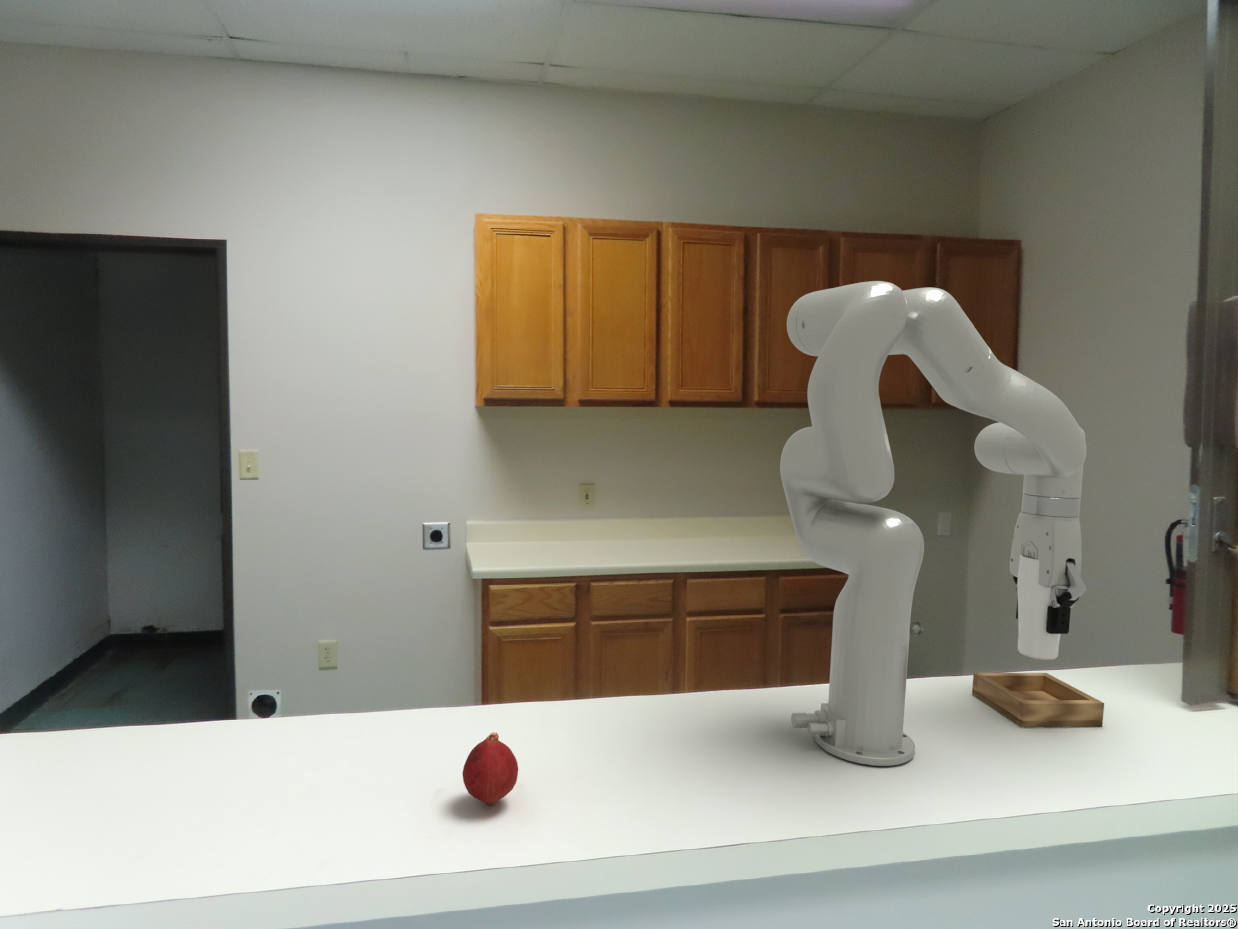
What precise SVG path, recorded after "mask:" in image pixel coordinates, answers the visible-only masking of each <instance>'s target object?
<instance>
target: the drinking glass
mask: <svg viewBox="0 0 1238 929" xmlns="http://www.w3.org/2000/svg"><path fill="white" fill-rule="evenodd" d="M1038 578H1039V560H1037V559H1031V558H1027V557H1024V556H1022V554H1021V555H1020V559H1019V567H1018V583H1017V587H1018V593H1017V595H1018V619H1017V626H1018V627H1017V630H1018V631H1017V632H1018V633H1017V634H1018V635H1017V650H1018V652H1019V654H1021V655H1022V656H1025V657H1026V658H1027V657H1028V658H1031V659H1034V660H1041V661H1046V660H1047V661H1050V660H1051V661H1053V660H1055V659H1057V657H1059V648H1060V640H1061V635H1062V634H1049V633H1047V632H1046V624H1047V611H1048V606H1052V604H1051V599H1050V594H1051V587H1043V586H1041V585H1039V584H1038ZM1058 585H1066V579H1065V574H1064V575H1063V577H1062V579H1061V581H1060V583H1059V584H1058ZM1064 592H1065V590H1058V595H1059V596H1061V595H1062V594H1063V593H1064Z"/></svg>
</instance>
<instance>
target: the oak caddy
mask: <svg viewBox="0 0 1238 929" xmlns="http://www.w3.org/2000/svg"><path fill="white" fill-rule="evenodd" d="M971 688H972V690H971V695H972V696H974V697H975V698H977V699H978V700H979V701H981V702H983V703H984V704H986V705H987V706H988V707H990V708H992V710H994V711H996V712H997V713H999V712H1000V713H999V714H1001V715H1002V716H1003V717H1005V718H1006V719H1008V718H1009V719H1008V720H1009V721H1011V720H1012V721H1011V722H1012V723H1014V724H1016V725H1017V724H1018V726H1019V727H1020V726H1021V727H1020V728H1022V727H1024V728H1025V729H1028V728H1027V727H1030V728H1029V729H1031V728H1033V727H1044V728H1102V727H1103V724H1104V714H1105V713H1104V711H1105V703H1104V702H1102V701H1100V700H1099V699H1097V698H1095V697H1093V696H1091V695H1089V694H1087V693H1086V692H1085V691H1082V690H1080V689H1077V688H1076V687H1074V686H1072V685H1070V684H1068V683H1067V682H1065V681H1063V680H1061V679H1059V678H1057V677H1055V676H1053V675H1051V674H1049V673H1047V672H973V676H972V687H971ZM1024 728H1023V729H1024Z"/></svg>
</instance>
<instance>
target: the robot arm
mask: <svg viewBox="0 0 1238 929" xmlns="http://www.w3.org/2000/svg"><path fill="white" fill-rule="evenodd" d="M786 332H787V335H788V338H789V339H790V342H791V343H792V344H793V346H794V347H795V348H796V349H797V350H799V351H800V352H801V353H803V354H805V355H808V356H813V357H817V358H816V360H815V362H814V365H813V368H812V370H811V373H810V376H809V379H808V384H807V393H806V394H807V395H806V396H807V406H808V409H809V410H808V411H809V416H810V421H811V426H807V427H803V428H801V429H799V430H797V431H795V432H794V433H793V434H792V435H790V436H789V437H788V439H787V441H786V442H785V444H784V446H783V448H782V452H781V455H780V462H779V472H780V480H781V483H782V487H783V491H784V495H785V499H786V503H787V507H788V512H789V514H790V518H791V522H792V525H793V529H794V533H795V536H796V538H797V542H798V545H799V548H800V549H801V550H802V552H803V553H804V555H805V556H806V557H807V558H808V559H809V560H810V561H811V562H813V563H815V564H817V565H819V566H822V567H824V568H828V569H831V570H835V571H838V572H842V573H843V574H847V575H848V578H847V580H846V582H845V584H844V586H843V588H842V589H841V591H840V593H839V594H838V596H837V598H836V600H835V605H834V609H833V615H832V633H831V634H832V636H831V650H830V652H831V653H830V654H831V655H830V670H829V684H828V685H829V686H828V703H825V702H824V703H823V702H822V703H820V710H818V709H817V710H815V711H814V712H813V713H811V712H792V713H791V718H790V720H791V721H790V722H791V726H792V727H793V729H807V733H808V734H809V735H814V740H815V743H817V745H818V746H820V748H822V749H823V750H824V751H826V752H827V753H829V754H831V755H833V756H835V757H837V758H840V759H843V760H846V761H848V762H852V763H857V764H860V765H865V766H866V765H868V766H878V767H891V766H899V765H902V764H905V763H907V762H909V761H910V760H912V759H913V757H914V755H915V750H916V747H915V742H914V740H913V739H912V738H911V737H910V736H909V735H908V734H907V733H906V732H904V724H905V723H904V719H905V707H906V706H905V705H906V690H907V677H908V676H907V675H908V661H909V649H910V648H909V646H910V645H909V644H910V630H911V629H910V628H911V620H912V619H911V616H912V607H913V598H914V593H915V589H916V588H915V587H916V585H917V580H918V576H919V573H920V569H921V566H922V563H923V559H924V553H925V541H924V536H923V533H922V531H921V529H920V528H919V526H918V524H917V523H915V521H914V520H913V519H911V518H910V517H909V516H907V515H905V514H904V513H901V512H899V511H896V510H894V509H891V508H890V509H889V508H886V507H881V506H877V505H870V504H868V503H875V502H878V501H880V500H882V499H884V498H885V497H887V495H888V494H889V493H890V492H891V490H892V488H893V486H894V484H895V483H894V482H895V465H894V461H893V460H894V459H893V455H892V451H891V445H890V442H889V441H890V440H889V437H888V433H887V428H886V423H885V419H884V415H883V410H882V404H881V399H880V392H879V391H880V390H879V389H880V388H879V387H880V386H879V385H880V384H879V383H880V377H881V374H882V373H881V372H882V370H883V366H884V364H885V362H886V360H887V358H888V356H892V355H893V356H894V355H895V356H896V355H905V356H908V358H910V360H911V361H912V362H913V363H914V364H915V365H916V367H917V368H918V369H919V371H920V372H921V374H922V375H923V376H924V377H925V378H926V380H927V381H928V382H929V384H930V385H931V386H932V388H933V389H934V390H935V392H936V393H937V395H938V396H939V397H940V398H941V399H942V401H944V402H945V403H947V404H948V405H950V406H953V407H955V408H958V409H959V410H962V411H965V412H968V413H970V414H973V415H976V416H979V417H983V418H986V419H988V420H989V419H990V420H992V421H994V423H992V424H989V425H987V426H985V427H984V428H983V429H982V430H980V432H979V433H978V434H977V436H976V438H975V440H974V446H973V447H974V448H973V449H974V455H975V457H976V460H977V461H978V462H979V463H980V464H981V465H982V466H983V467H984V468H986V469H988V470H990V471H993V472H995V473H1001V474H1011V475H1018V476H1022V475H1023V484H1022V498H1021V511H1020V512H1019V513H1018V517H1017V519H1016V523H1015V526H1014V531H1013V536H1012V541H1011V548H1010V550H1011V551H1010V558H1009V559H1010V560H1009V564H1008V567H1009V572H1010V573H1011V575H1012V580H1013V581H1014V583H1015V592H1016V595H1017V598H1016V611H1015V612H1016V613H1015V619H1016V620H1018V587H1017V583H1018V567H1019V559H1020V555H1021V554H1022V556H1024V557H1027V558H1031V559H1037V560H1039V578H1038V584H1039V585H1041V586H1043V587H1051V594H1050V599H1051V604H1052V606H1048V611H1047V624H1046V632H1047V633H1049V634H1061V635H1067V634H1068V633H1069V632H1070V625H1071V624H1070V620H1071V608H1074V607H1075V603H1076V602H1077V601H1078V600H1080V597H1082V595H1084V593H1086V592H1087V586H1086V584H1085V581H1083V578H1082V577H1081V572H1082V554H1083V552H1082V550H1083V549H1082V548H1083V547H1082V543H1083V542H1082V530H1081V529H1082V528H1081V524H1080V512H1081V502H1082V501H1081V499H1082V498H1081V497H1082V488H1083V476H1084V475H1083V474H1084V463H1085V461H1086V458H1087V443H1086V433H1085V431H1084V429H1083V428H1082V427H1081V426H1079V423H1078V422H1077V420H1076V419H1075V417H1074V416H1073V414H1072V413H1071V411H1070V410H1069V408H1068V407H1067V406H1066V405H1065V403H1064V402H1063V401H1062V400H1061V399H1060V398H1059V397H1058V396H1057V395H1056V394H1054V393H1053V392H1052V391H1050V390H1049V389H1048V388H1047V387H1045V386H1043V385H1041V384H1040V383H1038V382H1036V381H1035V380H1034V379H1031V378H1029V377H1027V375H1024V374H1022V373H1021V372H1019V371H1017V370H1015V369H1013V368H1011V367H1010V366H1007V365H1005V363H1002V362H1001V361H1000V360H999V359H998V358H997V356H996V355H995V354H994V352H993V351H992V349H991V348H990V347H989V346H988V344H987V342H985V340H984V339H983V337H982V335H980V333H979V331H978V330H977V328H975V325H974V324H973V322H972V321H971V320H970V319H969V317H968V316H967V314H966V313H965V312H964V310H963V309H962V307H961V305H960V304H959V303H958V301H957V300H956V299H955V297H953V296H952V295H951V293H949V292H948V291H946V290H944V289H943V288H942V289H941V288H938V287H931V286H930V287H919V288H911V289H906V290H902V288H900V287H899V286H897V285H896V284H894V283H892V282H888V281H883V280H872V281H871V280H870V281H863V282H857V283H851V284H847V285H846V284H845V285H841V286H836V287H833V288H826V289H821V290H816V291H812V292H809V293H806V294H804V295H803V296H801V297H799V298H798V299H797V300H796V301H795V302H794V303H793V305H792V306H791V308H790V309H789V312H788V315H787V318H786ZM1064 574H1065V579H1066V585H1058V584H1059V583H1060V581H1061V579H1062V577H1063V575H1064ZM1058 590H1065V592H1064V593H1063V594H1062V595H1061V596H1059V595H1058Z"/></svg>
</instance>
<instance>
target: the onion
mask: <svg viewBox="0 0 1238 929" xmlns="http://www.w3.org/2000/svg"><path fill="white" fill-rule="evenodd" d="M499 738H500V736H499V734H498V733H497V732H493V731H492V732H491V733H490V734H489V735H488V736H487V737H486V738H485V739H483V741H480V742H479V743H477V744H476V745H475V746H474V747H473V748H472V749H471V751H469V754H468V755H467V757H466V759H465V763H464V765H463V768H462V780H463V781H462V782H463V784H464V787H465V789H466V791H467V792H468V794H469V795H470V796H471V797H473V798H474V799H476V800H477V801H479V802H481V803H483V804H485V805H487V806H495V805H496V804H497V803H498V802H499V801H501V800H502V799H504V798H505V797H506V796H507V795H509V793H511V791H512V790H514V787H515V786H516V784H517V781H518V776H519V765H518V760H517V758H516V756H515V754H514V752H513V750H512V749H511V748H510V747H509V746H508V745H507V744H505V743H504V742H502V741H500V740H499Z"/></svg>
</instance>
